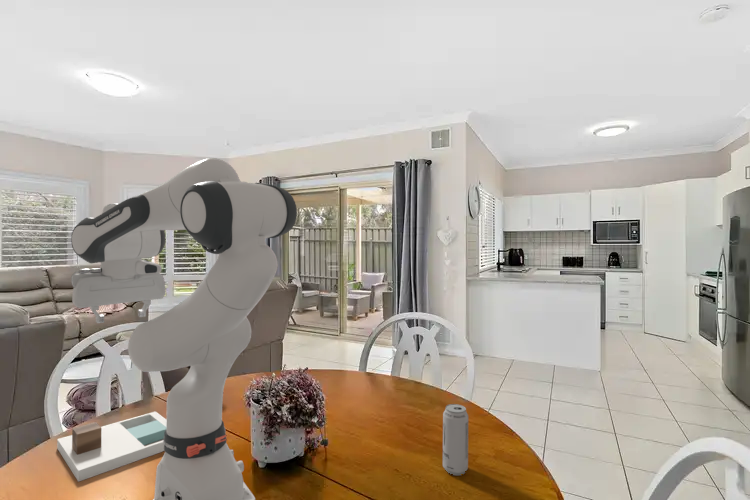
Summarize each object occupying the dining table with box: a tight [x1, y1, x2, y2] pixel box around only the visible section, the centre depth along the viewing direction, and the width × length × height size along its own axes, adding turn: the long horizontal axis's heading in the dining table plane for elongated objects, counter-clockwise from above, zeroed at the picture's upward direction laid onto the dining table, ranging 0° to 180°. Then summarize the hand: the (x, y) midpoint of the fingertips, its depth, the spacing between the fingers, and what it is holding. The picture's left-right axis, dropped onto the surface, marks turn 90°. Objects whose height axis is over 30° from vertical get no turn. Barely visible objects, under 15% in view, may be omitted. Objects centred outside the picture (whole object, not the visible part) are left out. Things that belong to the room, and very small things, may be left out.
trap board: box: [56, 411, 167, 482], centre depth 106 cm, size 22×24×2 cm
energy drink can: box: [442, 403, 469, 476], centre depth 96 cm, size 6×6×15 cm
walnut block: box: [71, 421, 102, 455], centre depth 100 cm, size 5×5×5 cm
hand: (121, 319), depth 103 cm, fingers open, 8 cm apart
